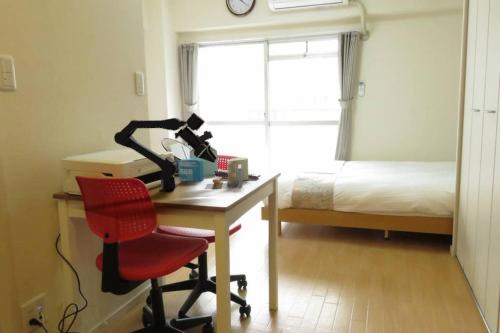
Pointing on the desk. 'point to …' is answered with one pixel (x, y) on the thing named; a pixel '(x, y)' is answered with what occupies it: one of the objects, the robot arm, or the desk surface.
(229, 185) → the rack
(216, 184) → the offcut stack
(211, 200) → the desk surface
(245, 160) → the can
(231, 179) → the birch strip
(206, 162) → the grey-green peaked box
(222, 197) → the desk surface
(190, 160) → the data package
